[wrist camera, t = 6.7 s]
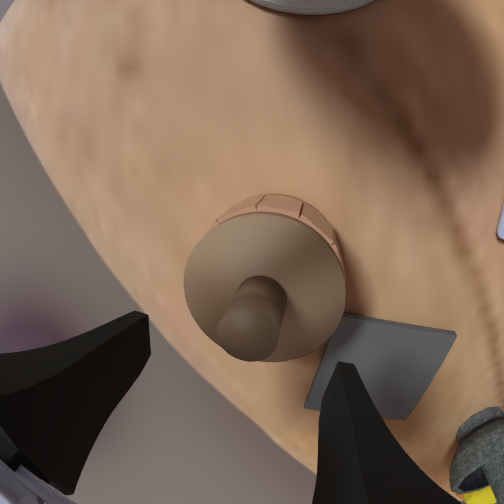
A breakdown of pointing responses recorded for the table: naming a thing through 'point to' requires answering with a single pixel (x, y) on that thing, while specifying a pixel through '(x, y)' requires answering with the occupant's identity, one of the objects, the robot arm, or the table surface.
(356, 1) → the chalice
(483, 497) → the yellow rounded block
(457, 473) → the mortar and pestle
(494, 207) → the table surface
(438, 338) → the mat
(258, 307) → the lid
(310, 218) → the bowl
